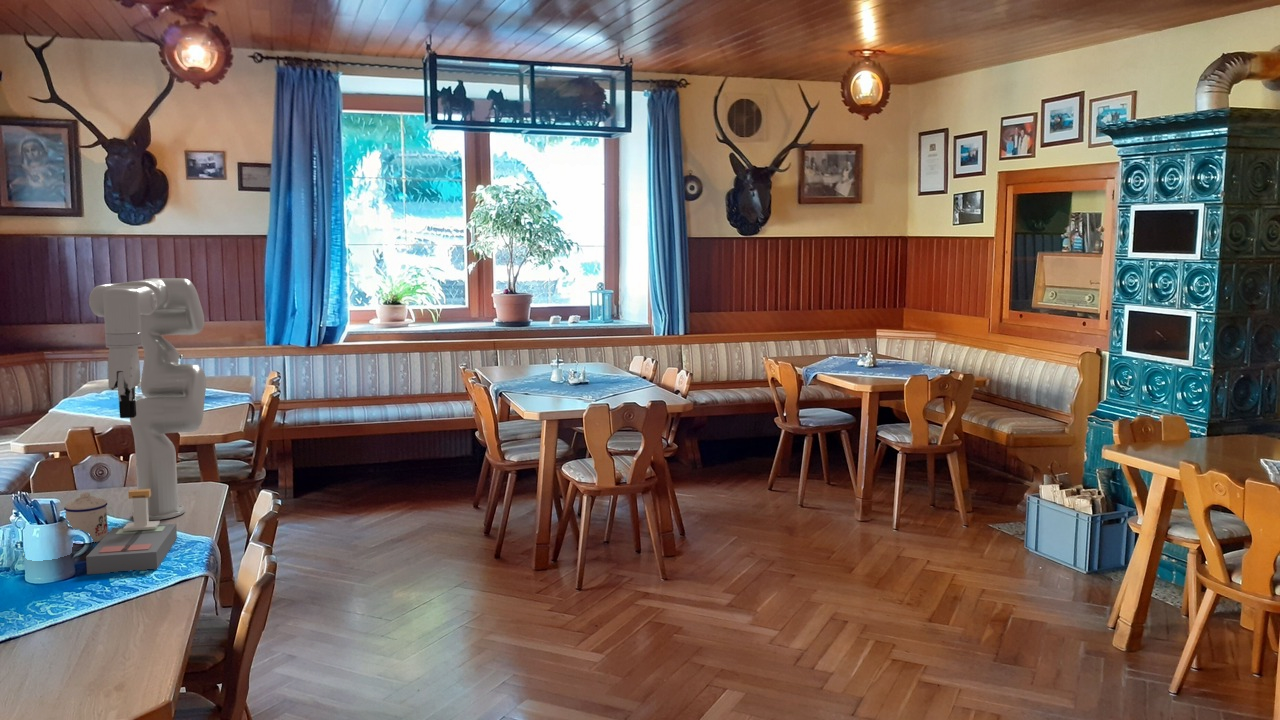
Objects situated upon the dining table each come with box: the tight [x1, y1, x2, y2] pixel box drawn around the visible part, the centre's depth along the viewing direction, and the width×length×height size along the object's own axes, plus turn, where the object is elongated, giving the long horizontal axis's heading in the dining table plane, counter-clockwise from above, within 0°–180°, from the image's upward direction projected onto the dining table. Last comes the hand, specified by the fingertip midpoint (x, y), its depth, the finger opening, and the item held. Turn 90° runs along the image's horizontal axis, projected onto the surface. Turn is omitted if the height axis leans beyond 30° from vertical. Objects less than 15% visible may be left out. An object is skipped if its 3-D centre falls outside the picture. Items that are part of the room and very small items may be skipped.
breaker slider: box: [123, 489, 161, 531], centre depth 227 cm, size 5×7×9 cm
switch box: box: [85, 523, 178, 575], centre depth 220 cm, size 22×14×4 cm, turn 15°
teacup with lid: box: [64, 491, 109, 544], centre depth 233 cm, size 12×9×12 cm
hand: (128, 417), depth 226 cm, fingers closed
